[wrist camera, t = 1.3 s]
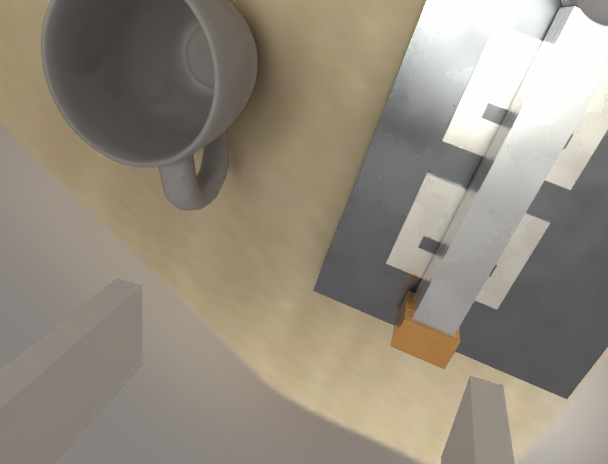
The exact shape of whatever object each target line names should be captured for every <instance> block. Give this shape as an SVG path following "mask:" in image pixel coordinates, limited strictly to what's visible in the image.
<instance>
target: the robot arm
mask: <svg viewBox="0 0 608 464" xmlns="http://www.w3.org/2000/svg"><path fill="white" fill-rule="evenodd" d="M141 365H142V286H141V285H137V284H134V283H130V282H127V281H123V280H120V279H116V280H115V281H113V282H112V283H111V284H109V285H108V286H107V287H105V288H104V289H103V290H102V291H100V292H99V293H98V294H97V295H95V296H94V297H93V298H91V299H90V300H89V301H88V302H86V303H85V304H84V305H83V306H81V307H80V308H79V309H77V310H76V311H75V312H74V313H72V314H71V315H70V316H69V317H67V318H66V319H65V320H63V321H62V322H61V323H60V324H59V325H57V326H56V327H55V328H53V329H52V330H51V331H49V333H47V334H46V335H44V336H43V337H42V338H41V339H40V340H38V341H37V342H36V343H34V344H33V345H32V346H30V347H29V348H28V349H27V350H25V351H24V352H23V353H21V354H20V355H19V356H18V357H16V358H15V359H14V360H13V361H11V362H10V363H9V364H8V365H6V366H5V367H4V368H3V369H1V370H0V464H55V463H56V462H57V461H58V459H59V458H60V457H61V456H62V455H63V454H64V453H65V451H66V450H67V449H68V448H69V447H70V446H71V445H72V443H73V442H74V441H75V440H76V439H77V438H78V436H80V434H81V433H82V432H83V431H84V430H85V429H86V428H87V427H88V425H89V424H90V423H91V422H92V421H93V420H94V419H95V417H96V416H97V415H98V414H99V413H100V412H101V411H102V410H103V408H104V407H105V406H106V405H107V404H108V403H109V402H110V401H111V399H112V398H113V397H114V396H115V395H116V394H117V392H118V391H119V390H120V389H121V388H122V387H123V386H124V385H125V384H126V382H127V381H128V380H129V379H130V378H131V377H132V376H133V375H134V373H135V372H136V371H137V370H138V369H139V368H140V367H141ZM441 464H515V463H514V457H513V450H512V443H511V436H510V430H509V423H508V416H507V410H506V403H505V396H504V389H503V385H500V384H497V383H493V382H489V381H486V380H482V379H479V378H475V377H471V376H470V378H469V381H468V384H467V386H466V389H465V392H464V395H463V398H462V400H461V403H460V406H459V409H458V412H457V414H456V417H455V420H454V423H453V426H452V428H451V431H450V434H449V437H448V440H447V442H446V445H445V448H444V451H443V454H442V456H441Z"/></svg>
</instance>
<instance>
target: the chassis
mask: <svg viewBox="0 0 608 464" xmlns="http://www.w3.org/2000/svg"><path fill="white" fill-rule="evenodd" d="M560 8H563V6H562V3H561V0H426V3H425V5H424V8H423V11H422V13H421V16H420V18H419V21H418V23H417V26H416V29H415V31H414V34H413V36H412V39H411V41H410V44H409V46H408V49H407V52H406V54H405V57H404V59H403V62H402V64H401V67H400V69H399V72H398V75H397V77H396V80H395V82H394V85H393V87H392V90H391V93H390V95H389V98H388V100H387V103H386V105H385V108H384V110H383V113H382V116H381V118H380V121H379V123H378V126H377V128H376V131H375V134H374V136H373V139H372V141H371V144H370V146H369V149H368V151H367V154H366V157H365V159H364V162H363V164H362V167H361V169H360V172H359V175H358V177H357V180H356V182H355V185H354V187H353V190H352V192H351V195H350V198H349V200H348V203H347V205H346V208H345V210H344V213H343V216H342V218H341V221H340V223H339V226H338V228H337V231H336V233H335V236H334V239H333V241H332V244H331V246H330V249H329V251H328V254H327V256H326V259H325V262H324V264H323V267H322V269H321V272H320V274H319V277H318V280H317V282H316V285H315V287H314V290H313V291H315V292H318V293H320V294H322V295H325V296H327V297H329V298H332V299H334V300H337V301H339V302H341V303H344V304H346V305H348V306H351V307H353V308H355V309H358V310H360V311H362V312H365V313H367V314H369V315H372V316H374V317H376V318H379V319H381V320H383V321H386V322H388V323H390V324H393V325H395V319H396V315H397V313H398V311H399V309H400V307H401V305H402V303H403V301H404V299H405V297H406V295H407V293H408V291H411V292H413V293H415V292H416V290H417V288H418V286H419V284H420V282H421V280H422V278H423V276H424V274H425V272H426V270H427V268H428V267H429V265H430V263H431V261H432V259H433V257H434V255H435V253H436V251H437V249H438V247H439V245H440V243H441V241H442V239H443V237H444V235H445V233H446V231H447V229H448V227H449V225H450V223H451V221H452V219H453V217H454V215H455V213H456V211H457V209H458V207H459V206H460V204H461V202H462V200H463V198H464V196H465V194H466V192H467V190H468V188H469V186H470V184H471V182H472V180H473V178H474V176H475V174H476V172H477V170H478V168H479V166H480V164H481V162H482V160H483V158H484V156H485V154H486V152H487V150H488V148H489V147H490V145H491V143H492V141H493V139H494V137H495V135H496V133H497V131H498V129H499V127H500V125H501V123H502V121H503V119H504V117H505V115H506V113H507V111H508V109H509V107H510V105H511V103H512V101H513V99H514V97H515V95H516V93H517V91H518V89H519V87H520V86H521V84H522V82H523V80H524V78H525V76H526V74H527V72H528V70H529V68H530V66H531V64H532V62H533V60H534V58H535V56H536V54H537V52H538V50H539V48H540V46H541V44H542V42H543V40H544V38H545V36H546V34H547V32H548V30H549V28H550V27H551V25H552V23H553V21H554V19H555V17H556V15H557V13H558V11H559V9H560ZM607 347H608V72H607V74H606V76H605V77H604V79H603V81H602V82H601V84H600V86H599V88H598V89H597V91H596V93H595V94H594V96H593V98H592V100H591V101H590V103H589V105H588V106H587V108H586V110H585V112H584V113H583V115H582V117H581V119H580V120H579V122H578V124H577V125H576V127H575V129H574V131H573V132H572V134H571V136H570V137H569V139H568V141H567V143H566V144H565V146H564V148H563V149H562V151H561V153H560V155H559V156H558V158H557V160H556V161H555V163H554V165H553V167H552V168H551V170H550V172H549V174H548V175H547V177H546V179H545V180H544V182H543V184H542V186H541V187H540V189H539V191H538V192H537V194H536V196H535V198H534V199H533V201H532V203H531V204H530V206H529V208H528V210H527V211H526V213H525V215H524V216H523V218H522V220H521V222H520V223H519V225H518V227H517V229H516V230H515V232H514V234H513V235H512V237H511V239H510V241H509V242H508V244H507V246H506V247H505V249H504V251H503V253H502V254H501V256H500V258H499V259H498V261H497V263H496V265H495V266H494V268H493V270H492V271H491V273H490V275H489V277H488V278H487V280H486V282H485V284H484V285H483V287H482V289H481V290H480V292H479V294H478V296H477V297H476V299H475V301H474V302H473V304H472V306H471V308H470V309H469V311H468V313H467V314H466V316H465V318H464V320H463V321H462V323H461V325H460V344H459V345H458V347H457V349H456V350H455V351H456V352H458V353H460V354H463V355H465V356H467V357H470V358H472V359H474V360H477V361H479V362H481V363H484V364H486V365H488V366H491V367H493V368H495V369H498V370H500V371H502V372H505V373H507V374H509V375H512V376H514V377H516V378H519V379H521V380H523V381H526V382H528V383H530V384H533V385H535V386H537V387H540V388H542V389H544V390H547V391H549V392H551V393H554V394H556V395H558V396H561V397H563V398H565V399H567V398H568V397H569V396H570V395H571V393H572V392H573V391H574V389H575V388H576V387H577V386H578V384H579V383H580V382H581V380H582V379H583V378H584V377H585V375H586V374H587V373H588V371H589V370H590V369H591V368H592V366H593V365H594V364H595V362H596V361H597V360H598V359H599V357H600V356H601V355H602V353H603V352H604V351H605V350H606V348H607Z"/></svg>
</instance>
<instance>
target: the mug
mask: <svg viewBox="0 0 608 464" xmlns="http://www.w3.org/2000/svg"><path fill="white" fill-rule="evenodd" d="M41 55H42V64H43V69H44V74H45V78H46V81H47V84H48V87H49V90H50V93H51V95H52V97H53V100H54V102H55V104H56V106H57V107H58V109H59V111H60V113H61V114H62V116H63V117H64V119H65V120H66V122H67V123H68V124H69V126H70V127H71V128H72V129H73V130H74V132H75V133H76V134H77V135H78V136H79V137H80V138H81V139H82V140H83V141H85V142H86V143H87V144H88V145H89V146H91V147H92V148H93V149H95V150H96V151H98V152H99V153H101V154H103V155H104V156H106V157H108V158H110V159H112V160H114V161H117V162H119V163H122V164H126V165H129V166H135V167H158V166H159V170H160V174H161V179H162V183H163V188H164V192H165V195H166V197H167V199H168V200H169V201H170V202H171V203H172V204H173V205H174V206H176V207H177V208H179V209H181V210H198V209H201V208H204V207H205V206H207V205H208V204H210V203H211V202H212V201H213V200H214V199H215V198H216V196H217V194H218V193H219V191H220V189H221V187H222V184H223V182H224V180H225V178H226V175H227V171H228V166H229V157H228V150H227V141H226V131H225V130H226V129H227V128H228V127H229V126H230V125H231V124H232V123H233V122H234V121H235V120H236V119H237V117H238V116H239V115H240V113H241V112H242V111H243V109H244V108H245V106H246V104H247V103H248V101H249V99H250V96H251V94H252V92H253V89H254V86H255V82H256V78H257V70H258V53H257V47H256V43H255V40H254V38H253V35H252V33H251V30H250V28H249V26H248V24H247V22H246V21H245V19H244V18H243V16H242V15H241V13H240V12H239V11H238V9H237V8H236V7H235V6H234V5H233V4H232V3H231V2H230V1H229V0H51V2H50V4H49V6H48V9H47V12H46V15H45V18H44V22H43V28H42V35H41ZM204 146H205V148H204V154H203V159H202V163H201V167H200V170H199V173H198V174H197V176H196V171H195V164H194V158H193V153H195V152H197V151H198V150H200V149H201V148H203V147H204Z"/></svg>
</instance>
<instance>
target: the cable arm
mask: <svg viewBox="0 0 608 464" xmlns="http://www.w3.org/2000/svg"><path fill="white" fill-rule="evenodd" d="M561 3H562V6H563V8H560V9H559V11H558V13H557V15H556V17H555V19H554V21H553V23H552V25H551V27H550V28H549V30H548V32H547V34H546V36H545V38H544V40H543V42H542V44H541V46H540V48H539V50H538V52H537V54H536V56H535V58H534V60H533V62H532V64H531V66H530V68H529V70H528V72H527V74H526V76H525V78H524V80H523V82H522V84H521V86H520V87H519V89H518V91H517V93H516V95H515V97H514V99H513V101H512V103H511V105H510V107H509V109H508V111H507V113H506V115H505V117H504V119H503V121H502V123H501V125H500V127H499V129H498V131H497V133H496V135H495V137H494V139H493V141H492V143H491V145H490V147H489V148H488V150H487V152H486V154H485V156H484V158H483V160H482V162H481V164H480V166H479V168H478V170H477V172H476V174H475V176H474V178H473V180H472V182H471V184H470V186H469V188H468V190H467V192H466V194H465V196H464V198H463V200H462V202H461V204H460V206H459V207H458V209H457V211H456V213H455V215H454V217H453V219H452V221H451V223H450V225H449V227H448V229H447V231H446V233H445V235H444V237H443V239H442V241H441V243H440V245H439V247H438V249H437V251H436V253H435V255H434V257H433V259H432V261H431V263H430V265H429V267H428V268H427V270H426V272H425V274H424V276H423V278H422V280H421V282H420V284H419V286H418V288H417V290H416V292H415V293H413V292H411V291H408V293H407V295H406V297H405V299H404V301H403V303H402V305H401V307H400V309H399V311H398V313H397V315H396V319H395V325H394V330H393V336H392V342H391V346H392V347H394V348H397V349H399V350H401V351H403V352H406V353H408V354H410V355H413V356H415V357H417V358H420V359H422V360H424V361H427V362H429V363H431V364H433V365H436V366H438V367H440V368H443V369H445V367H446V366H447V364H448V362H449V361H450V359H451V357H452V355H453V354H454V352H455V350H456V349H457V347H458V345H459V344H460V325H461V323H462V321H463V320H464V318H465V316H466V314H467V313H468V311H469V309H470V308H471V306H472V304H473V302H474V301H475V299H476V297H477V296H478V294H479V292H480V290H481V289H482V287H483V285H484V284H485V282H486V280H487V278H488V277H489V275H490V273H491V271H492V270H493V268H494V266H495V265H496V263H497V261H498V259H499V258H500V256H501V254H502V253H503V251H504V249H505V247H506V246H507V244H508V242H509V241H510V239H511V237H512V235H513V234H514V232H515V230H516V229H517V227H518V225H519V223H520V222H521V220H522V218H523V216H524V215H525V213H526V211H527V210H528V208H529V206H530V204H531V203H532V201H533V199H534V198H535V196H536V194H537V192H538V191H539V189H540V187H541V186H542V184H543V182H544V180H545V179H546V177H547V175H548V174H549V172H550V170H551V168H552V167H553V165H554V163H555V161H556V160H557V158H558V156H559V155H560V153H561V151H562V149H563V148H564V146H565V144H566V143H567V141H568V139H569V137H570V136H571V134H572V132H573V131H574V129H575V127H576V125H577V124H578V122H579V120H580V119H581V117H582V115H583V113H584V112H585V110H586V108H587V106H588V105H589V103H590V101H591V100H592V98H593V96H594V94H595V93H596V91H597V89H598V88H599V86H600V84H601V82H602V81H603V79H604V77H605V76H606V74H607V72H608V0H561Z"/></svg>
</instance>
